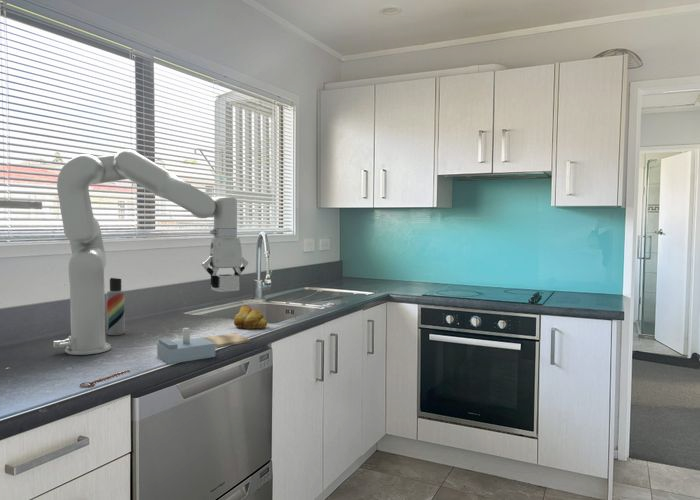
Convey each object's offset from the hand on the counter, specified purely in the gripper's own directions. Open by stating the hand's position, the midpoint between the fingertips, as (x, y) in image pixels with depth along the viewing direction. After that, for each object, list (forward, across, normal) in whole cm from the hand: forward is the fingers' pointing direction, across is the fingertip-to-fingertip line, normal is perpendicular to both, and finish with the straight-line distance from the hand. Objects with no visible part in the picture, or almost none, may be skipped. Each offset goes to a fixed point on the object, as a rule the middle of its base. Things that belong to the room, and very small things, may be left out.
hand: (225, 286), depth 178 cm
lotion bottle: (+19, -27, +32) cm, 46 cm away
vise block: (+19, -18, -12) cm, 29 cm away
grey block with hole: (+1, 0, 0) cm, 1 cm away
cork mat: (+19, 0, 0) cm, 19 cm away
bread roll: (+19, +17, +16) cm, 30 cm away
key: (+19, -43, -21) cm, 52 cm away
